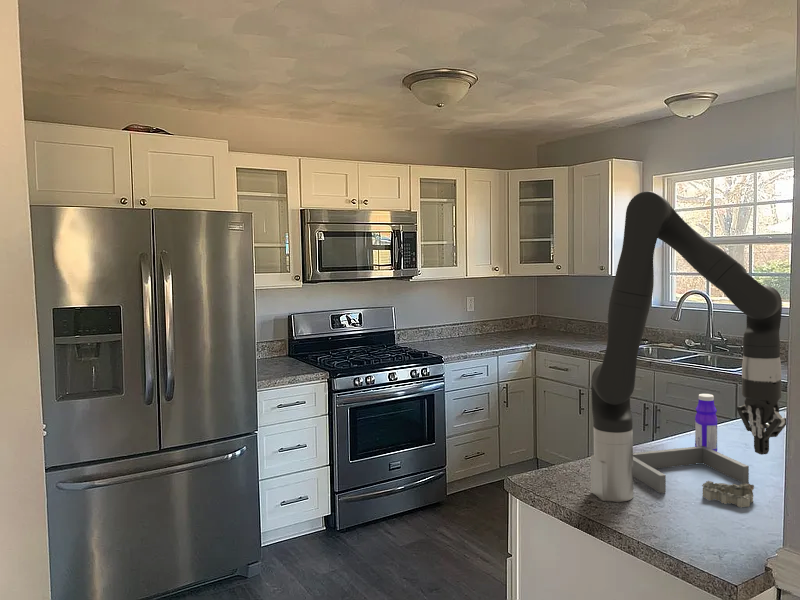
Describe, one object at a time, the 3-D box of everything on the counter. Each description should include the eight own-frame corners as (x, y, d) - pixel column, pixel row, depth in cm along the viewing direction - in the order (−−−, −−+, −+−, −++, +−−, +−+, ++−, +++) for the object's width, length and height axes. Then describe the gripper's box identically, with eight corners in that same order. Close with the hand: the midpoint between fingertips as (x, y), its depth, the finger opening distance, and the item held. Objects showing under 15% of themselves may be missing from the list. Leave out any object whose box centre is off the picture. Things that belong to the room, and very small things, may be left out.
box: (660, 493, 155) (660, 475, 155) (623, 469, 172) (623, 454, 172) (748, 483, 159) (748, 466, 159) (703, 461, 177) (703, 445, 176)
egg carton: (756, 501, 149) (756, 484, 149) (746, 511, 144) (746, 494, 143) (709, 490, 157) (709, 474, 156) (698, 499, 151) (698, 482, 151)
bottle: (720, 456, 180) (720, 397, 179) (699, 456, 181) (699, 397, 180) (712, 449, 187) (712, 392, 186) (692, 448, 188) (692, 392, 187)
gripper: (725, 372, 142) (725, 446, 143) (769, 383, 129) (769, 464, 130) (754, 369, 143) (754, 443, 145) (800, 380, 130) (800, 461, 132)
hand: (761, 453), depth 138 cm, fingers closed
